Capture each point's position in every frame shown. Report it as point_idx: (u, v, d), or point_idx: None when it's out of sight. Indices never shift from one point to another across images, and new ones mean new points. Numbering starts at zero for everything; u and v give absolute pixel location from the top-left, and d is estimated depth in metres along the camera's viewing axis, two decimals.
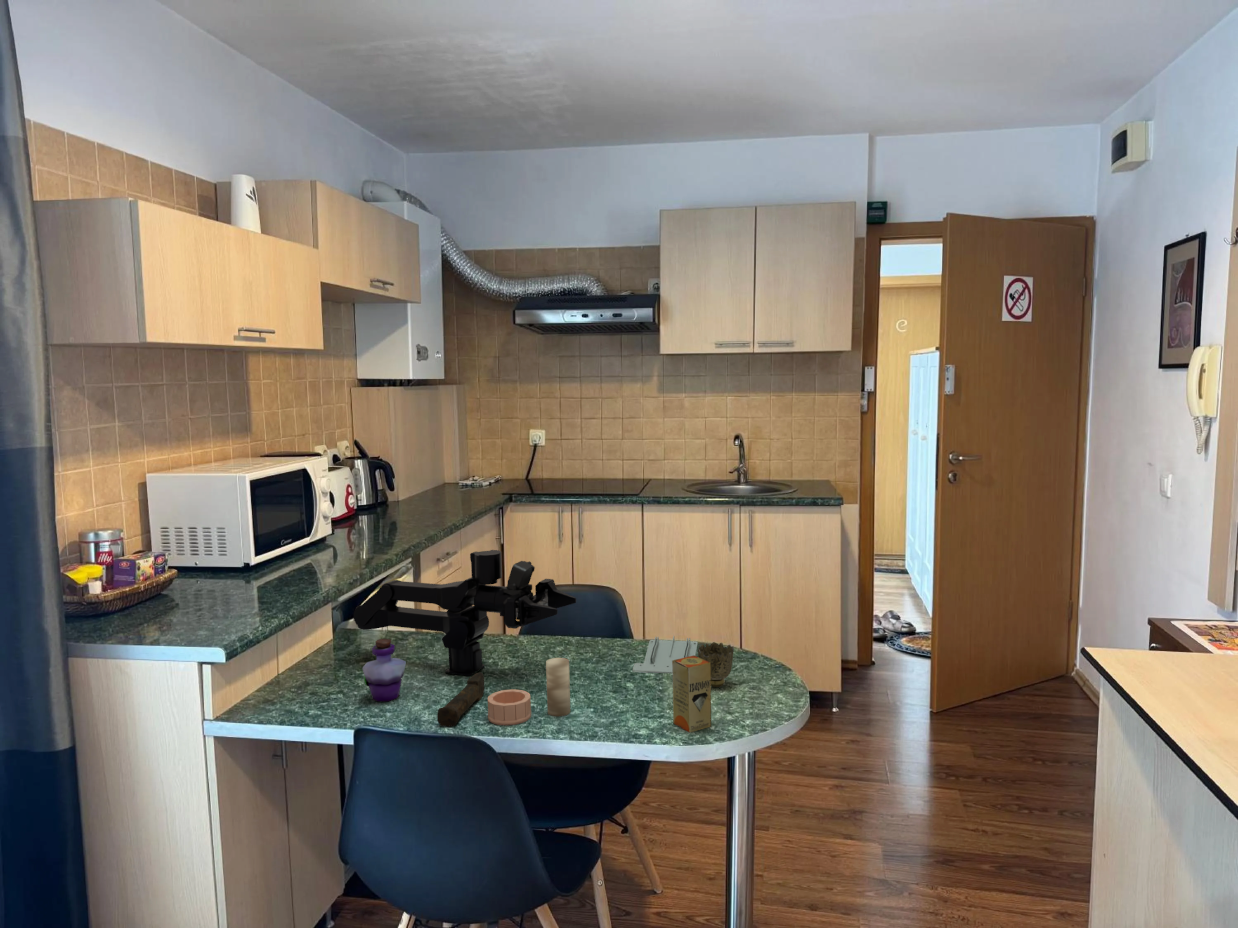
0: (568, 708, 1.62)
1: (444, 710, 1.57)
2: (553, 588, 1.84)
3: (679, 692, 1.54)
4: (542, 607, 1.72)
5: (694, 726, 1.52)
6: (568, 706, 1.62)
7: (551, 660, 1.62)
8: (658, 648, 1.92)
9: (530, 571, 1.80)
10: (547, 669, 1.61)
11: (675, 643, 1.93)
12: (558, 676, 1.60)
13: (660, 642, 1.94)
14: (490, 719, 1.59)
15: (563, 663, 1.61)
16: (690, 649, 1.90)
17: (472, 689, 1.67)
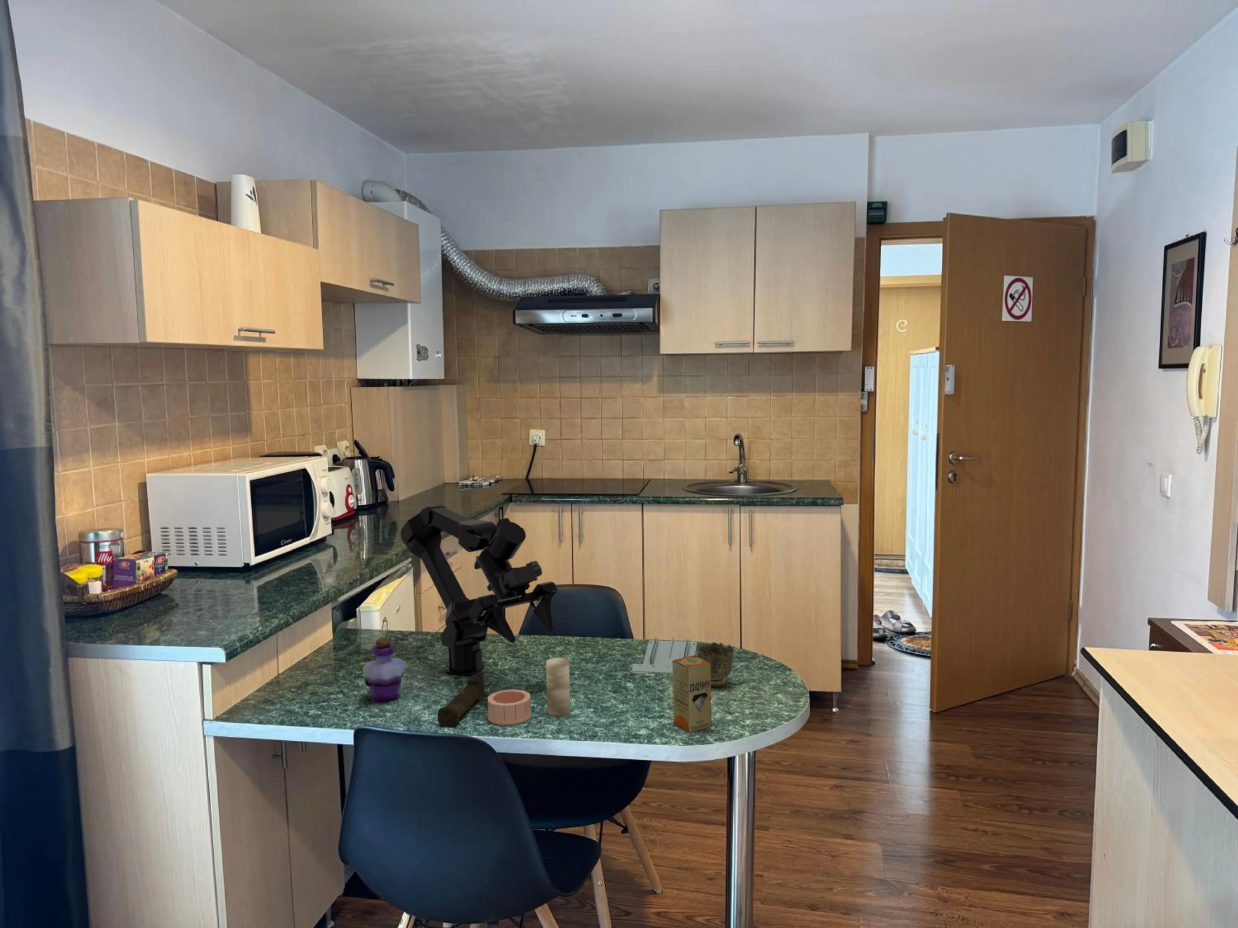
0: (568, 708, 1.62)
1: (444, 710, 1.57)
2: (546, 602, 1.72)
3: (679, 692, 1.54)
4: (505, 628, 1.64)
5: (694, 726, 1.52)
6: (568, 706, 1.62)
7: (551, 660, 1.62)
8: (657, 649, 1.91)
9: (531, 580, 1.68)
10: (547, 669, 1.61)
11: (674, 644, 1.93)
12: (558, 676, 1.60)
13: (659, 643, 1.93)
14: (490, 719, 1.59)
15: (563, 663, 1.61)
16: (689, 650, 1.90)
17: (472, 689, 1.67)
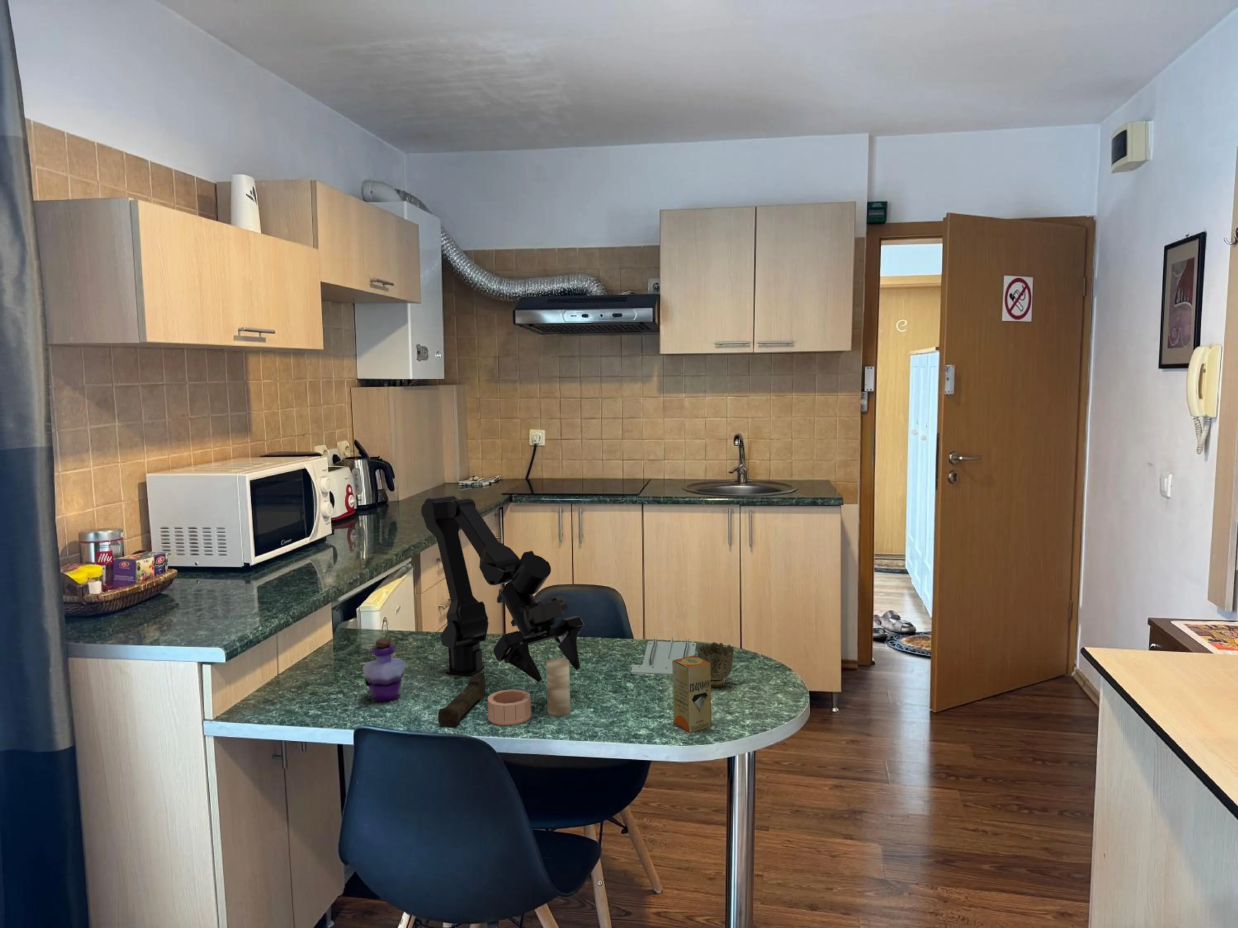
0: (568, 708, 1.62)
1: (445, 710, 1.57)
2: (572, 637, 1.67)
3: (679, 692, 1.54)
4: (531, 666, 1.59)
5: (694, 726, 1.52)
6: (568, 706, 1.62)
7: (551, 660, 1.62)
8: (656, 649, 1.91)
9: None
10: (547, 669, 1.61)
11: (673, 644, 1.92)
12: (558, 676, 1.60)
13: (658, 643, 1.93)
14: (490, 719, 1.59)
15: (563, 663, 1.61)
16: (689, 651, 1.89)
17: (473, 690, 1.67)
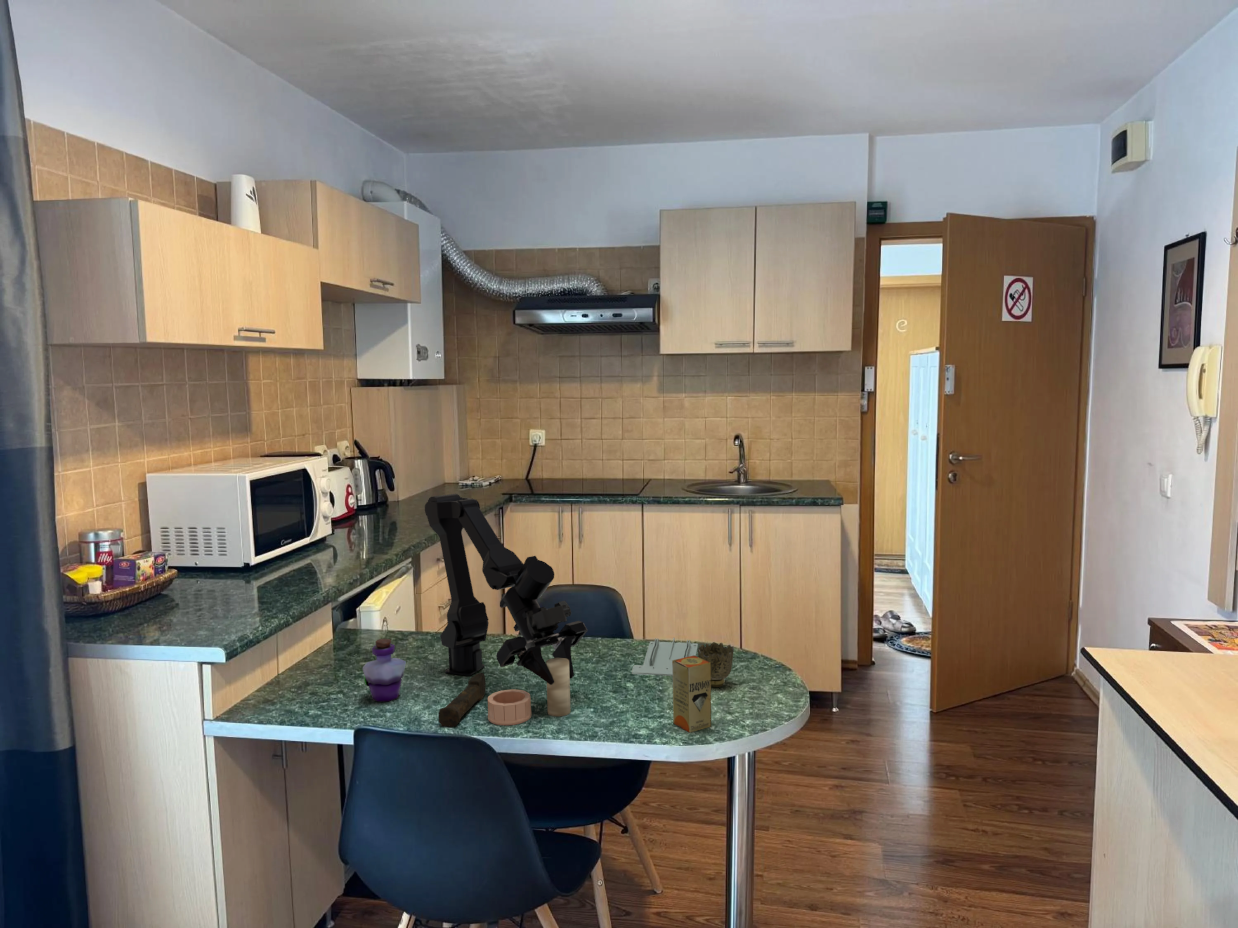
0: (568, 708, 1.62)
1: (445, 710, 1.57)
2: (566, 645, 1.65)
3: (679, 692, 1.54)
4: (543, 669, 1.60)
5: (694, 726, 1.52)
6: (568, 706, 1.62)
7: (551, 660, 1.62)
8: (658, 650, 1.90)
9: (560, 621, 1.62)
10: None
11: (675, 645, 1.92)
12: (558, 676, 1.60)
13: (660, 644, 1.92)
14: (490, 719, 1.59)
15: (563, 663, 1.61)
16: (690, 652, 1.89)
17: (473, 689, 1.67)
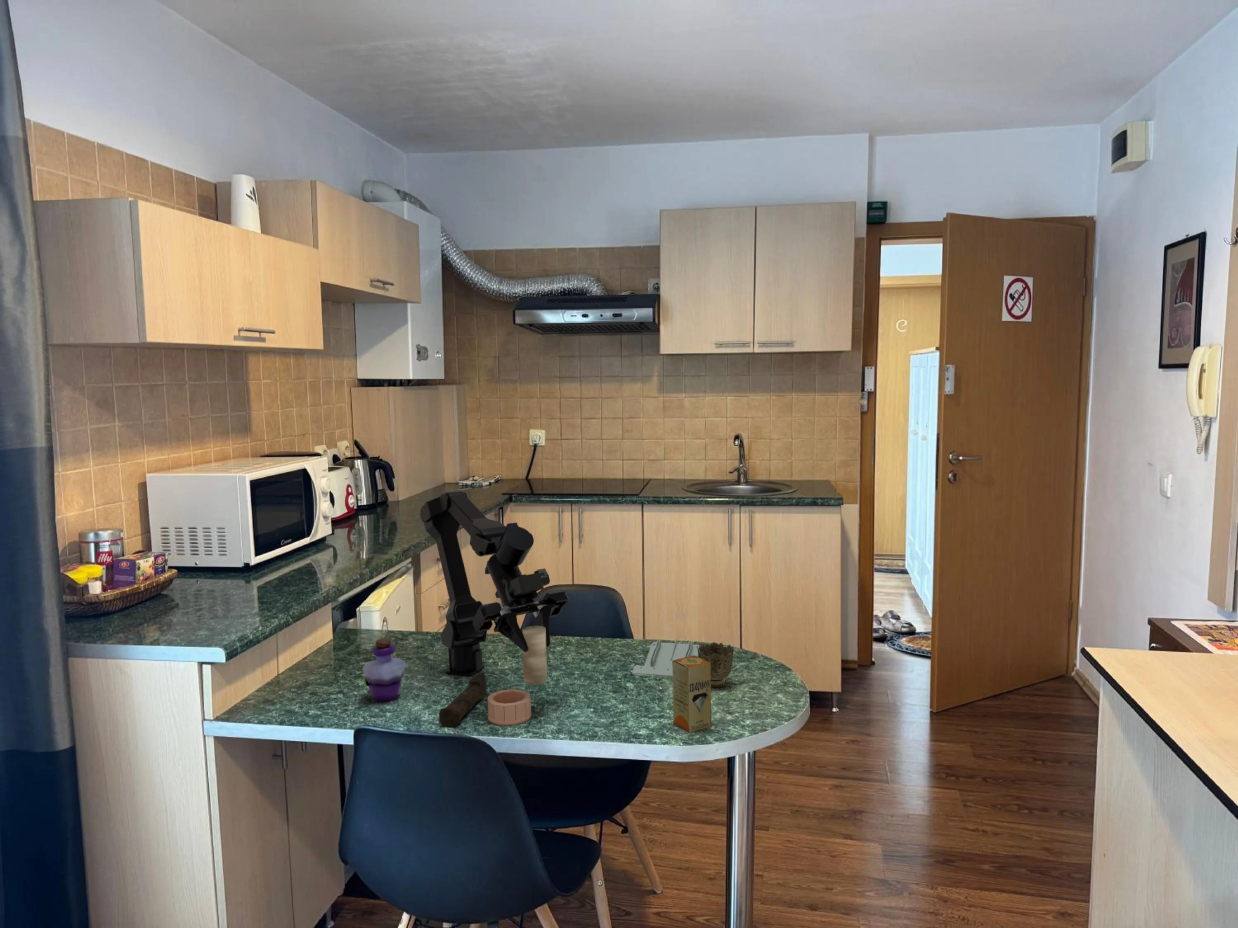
0: (543, 677, 1.60)
1: (446, 710, 1.57)
2: (545, 614, 1.63)
3: (679, 692, 1.54)
4: (518, 636, 1.58)
5: (694, 726, 1.52)
6: (543, 675, 1.60)
7: (528, 627, 1.61)
8: (660, 651, 1.90)
9: (537, 588, 1.60)
10: None
11: (677, 646, 1.91)
12: (533, 644, 1.58)
13: (662, 645, 1.92)
14: (490, 719, 1.59)
15: (538, 631, 1.59)
16: (692, 653, 1.88)
17: (474, 690, 1.67)
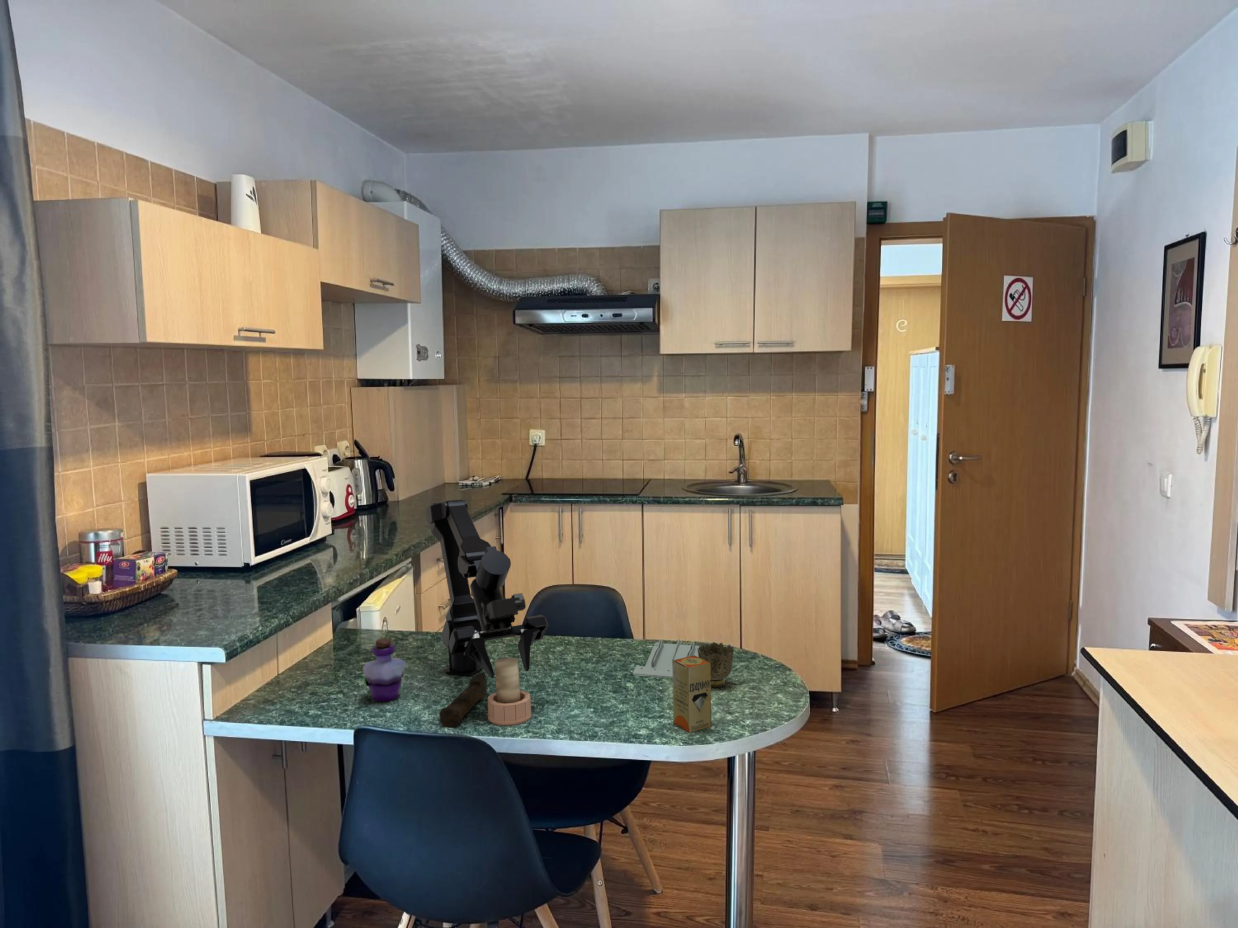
0: None
1: (446, 710, 1.57)
2: (526, 638, 1.63)
3: (679, 692, 1.54)
4: (484, 661, 1.58)
5: (694, 726, 1.52)
6: None
7: (501, 659, 1.61)
8: (662, 652, 1.89)
9: (511, 613, 1.60)
10: (495, 668, 1.60)
11: (680, 647, 1.90)
12: (503, 676, 1.58)
13: (665, 646, 1.91)
14: (490, 719, 1.59)
15: (509, 663, 1.58)
16: (694, 654, 1.87)
17: (474, 689, 1.67)
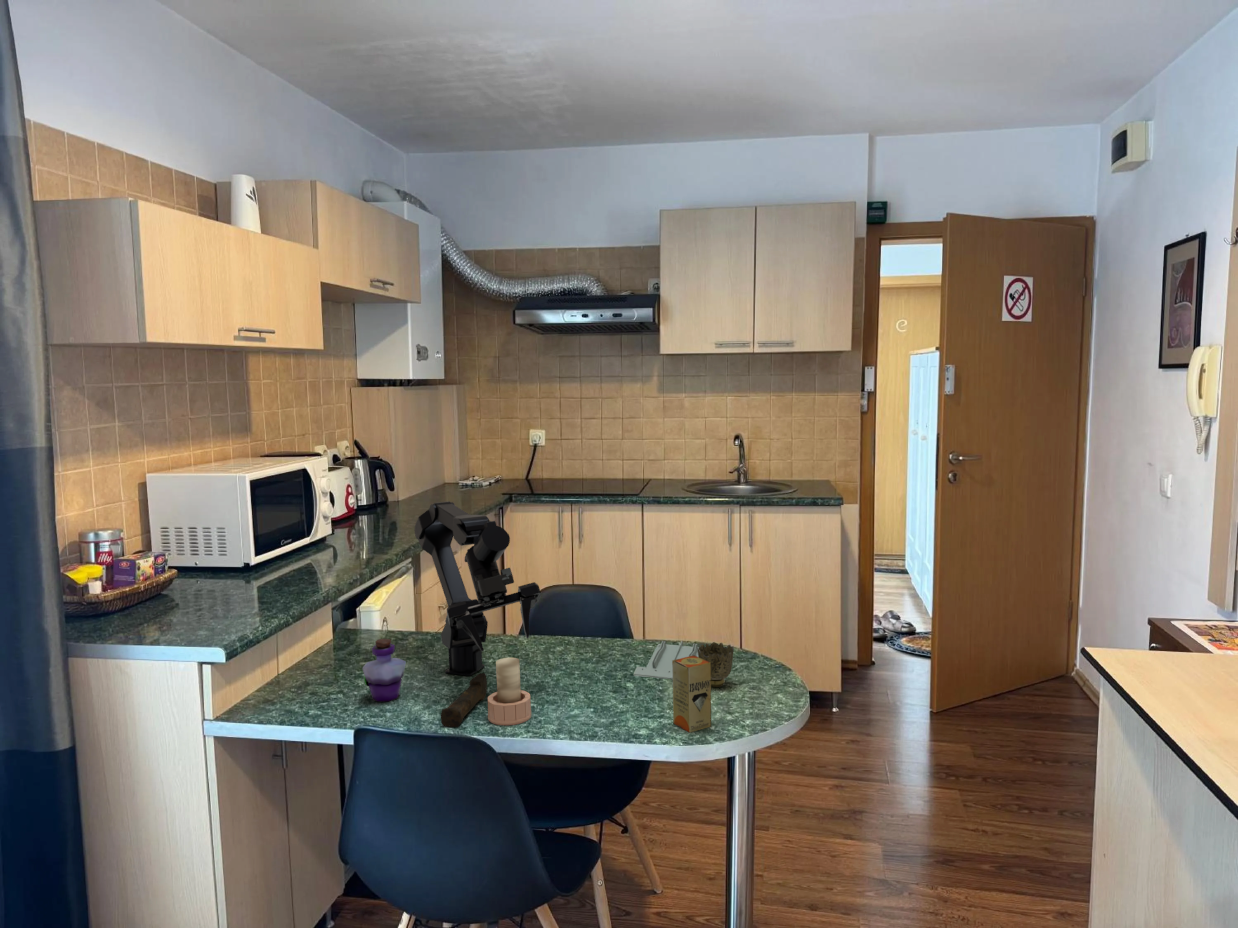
0: None
1: (447, 710, 1.57)
2: (524, 606, 1.69)
3: (679, 692, 1.54)
4: (474, 637, 1.66)
5: (694, 726, 1.52)
6: None
7: (503, 659, 1.61)
8: (664, 653, 1.88)
9: None
10: (496, 668, 1.60)
11: (682, 648, 1.89)
12: (505, 676, 1.58)
13: (668, 647, 1.90)
14: (490, 719, 1.59)
15: (511, 663, 1.59)
16: None
17: (475, 690, 1.67)
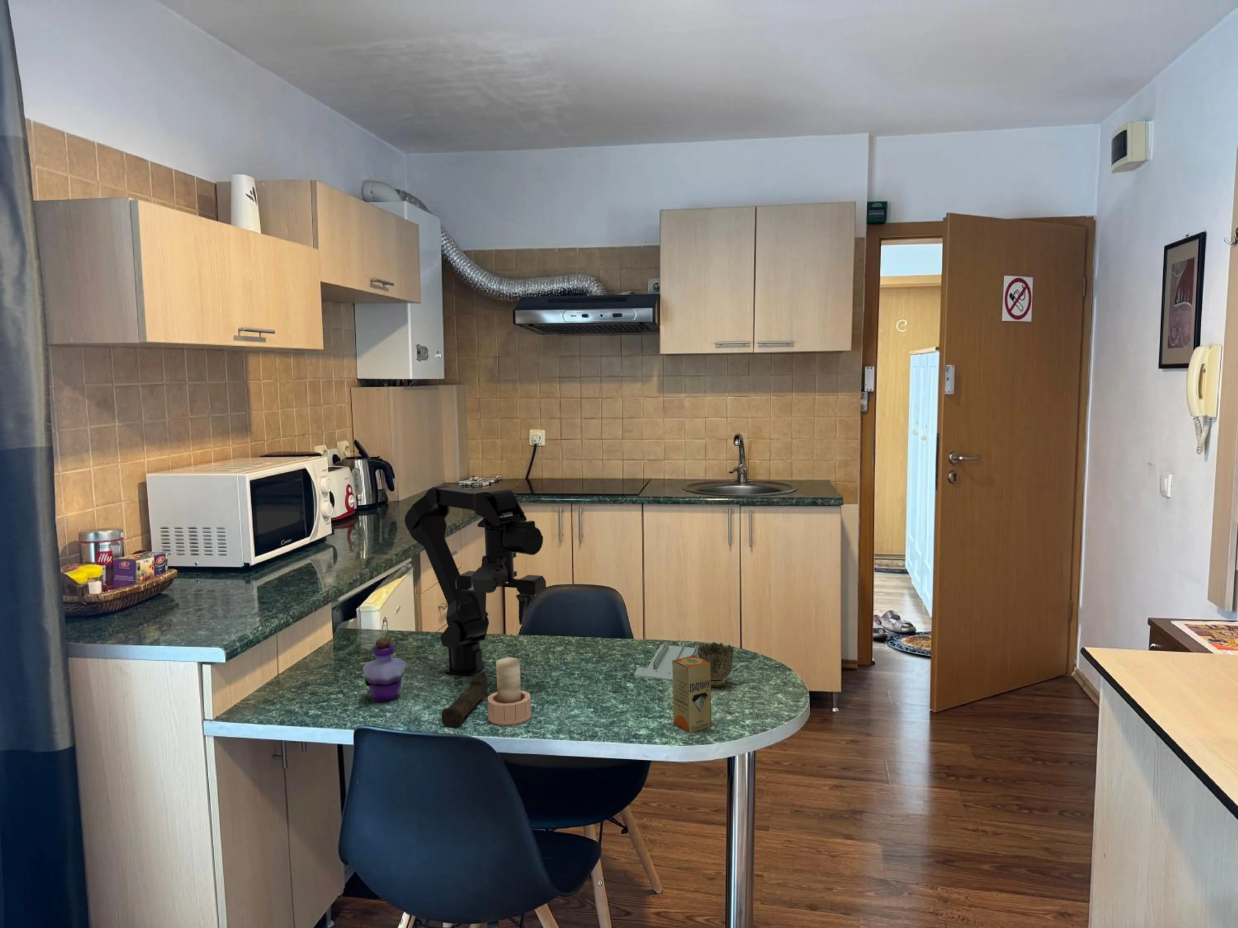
0: None
1: (448, 710, 1.57)
2: (520, 600, 1.74)
3: (679, 692, 1.54)
4: None
5: (694, 726, 1.52)
6: None
7: (503, 659, 1.61)
8: (666, 654, 1.88)
9: None
10: (496, 668, 1.60)
11: (685, 650, 1.88)
12: (505, 676, 1.58)
13: (670, 648, 1.90)
14: (490, 719, 1.59)
15: (511, 663, 1.59)
16: None
17: (475, 690, 1.67)
